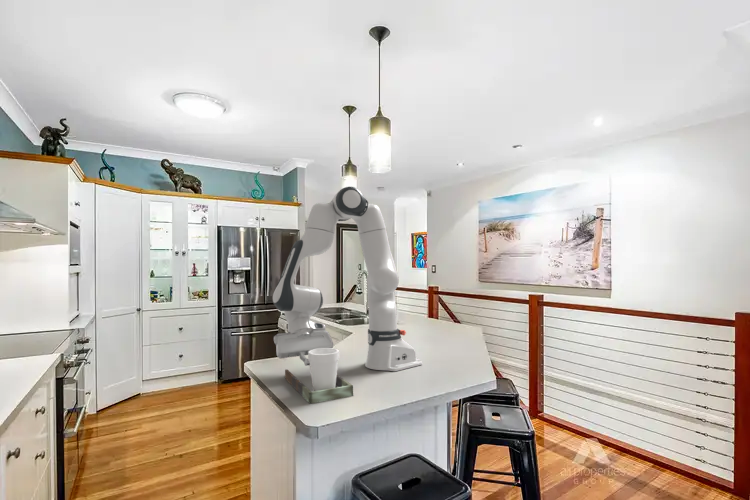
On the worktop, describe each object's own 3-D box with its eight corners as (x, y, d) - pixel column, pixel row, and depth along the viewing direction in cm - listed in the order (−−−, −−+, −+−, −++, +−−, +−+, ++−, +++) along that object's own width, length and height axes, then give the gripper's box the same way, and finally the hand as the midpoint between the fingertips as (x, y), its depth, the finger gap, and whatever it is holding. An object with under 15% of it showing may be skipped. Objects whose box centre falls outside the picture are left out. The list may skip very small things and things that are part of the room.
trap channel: (321, 372, 139) (321, 364, 139) (353, 395, 114) (353, 385, 114) (285, 378, 132) (285, 369, 132) (309, 403, 107) (309, 393, 108)
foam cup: (341, 397, 112) (341, 353, 113) (310, 400, 110) (309, 355, 110) (336, 387, 121) (336, 347, 122) (307, 390, 119) (307, 348, 120)
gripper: (274, 328, 132) (281, 363, 123) (329, 323, 142) (339, 355, 133) (271, 339, 136) (277, 373, 127) (325, 334, 145) (334, 365, 136)
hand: (309, 364), depth 130 cm, fingers closed
